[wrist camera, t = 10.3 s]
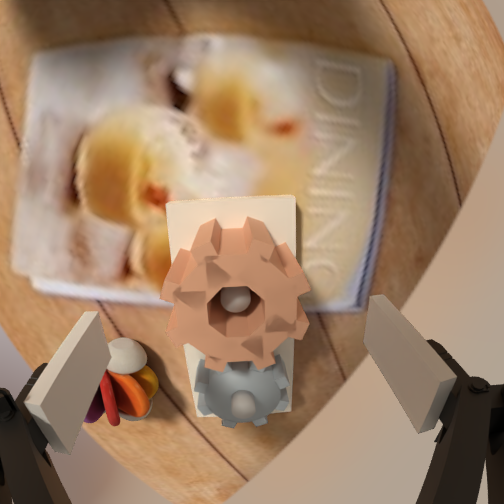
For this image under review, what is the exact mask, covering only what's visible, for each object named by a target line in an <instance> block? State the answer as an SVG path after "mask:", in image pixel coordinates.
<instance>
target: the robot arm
mask: <svg viewBox="0 0 504 504" xmlns="http://www.w3.org/2000/svg"><path fill="white" fill-rule="evenodd" d="M363 343H364V345H365V347H366V348H367V350H368V351H369V353H370V355H371V356H372V358H373V359H374V361H375V363H376V364H377V366H378V367H379V369H380V371H381V372H382V374H383V376H384V377H385V379H386V381H387V382H388V384H389V385H390V387H391V389H392V390H393V392H394V394H395V395H396V397H397V399H398V400H399V402H400V404H401V406H402V407H403V409H404V411H405V412H406V414H407V416H408V417H409V419H410V421H411V423H412V424H413V426H414V428H415V429H416V431H417V433H418V434H419V433H422V432H425V431H428V430H431V429H434V427H435V425H436V423H437V421H438V419H440V420H441V422H442V423H443V426H442V428H441V430H440V432H439V434H438V436H437V438H436V440H435V441H434V442H437V444H436V448H435V451H434V454H433V457H432V460H431V464H430V466H429V469H428V472H427V475H426V478H425V481H424V484H423V486H422V489H421V492H420V494H419V497H418V499H417V502H416V504H476V502H477V498H478V493H479V489H480V484H481V479H482V474H483V469H484V463H485V460H486V470H487V484H488V504H504V384H502V385H490V384H489V383H488V382H487V381H486V380H484V379H482V378H480V377H473V376H472V377H469V375H468V374H467V373H466V372H465V371H464V370H463V368H462V367H461V366H460V365H459V364H458V363H457V362H456V361H455V359H452V356H451V355H450V354H449V353H447V351H446V350H445V348H444V347H443V346H442V345H441V344H439V343H437V342H435V341H434V340H432V339H431V340H425V339H424V338H423V337H422V336H421V334H420V333H419V332H418V331H417V330H416V329H415V328H414V327H413V326H412V325H411V323H410V322H409V321H408V320H407V319H406V318H405V317H404V316H403V315H402V314H401V312H400V311H399V310H398V309H397V308H396V307H395V306H394V305H393V304H392V303H391V302H390V301H389V300H388V299H387V297H386V296H385V295H384V294H382V295H373V296H370V299H369V306H368V313H367V320H366V327H365V333H364V339H363ZM111 358H112V357H111V354H110V351H109V347H108V344H107V341H106V337H105V334H104V330H103V327H102V323H101V320H100V316H99V312H84V314H83V315H82V316H81V318H80V319H79V320H78V322H77V323H76V325H75V326H74V327H73V329H72V330H71V331H70V333H69V334H68V336H67V337H66V338H65V340H64V341H63V343H62V344H61V346H60V347H59V349H58V350H57V351H56V353H55V354H54V356H53V357H52V359H51V360H50V362H49V363H43V364H42V365H41V366H39V367H38V368H37V369H36V370H35V371H34V373H33V374H32V376H31V379H29V380H28V382H27V385H25V386H24V388H23V389H22V391H21V392H20V394H19V395H18V397H17V399H16V400H15V401H14V399H13V397H12V395H11V394H10V392H9V391H8V390H7V389H5V388H0V504H12V499H13V502H14V504H72V503H71V501H70V499H69V497H68V495H67V493H66V491H65V489H64V487H63V485H62V483H61V481H60V479H59V477H58V474H57V472H56V470H55V468H54V466H53V463H52V461H51V459H50V456H49V454H48V452H47V451H46V450H45V448H46V446H47V444H48V443H49V444H50V445H51V447H52V449H53V450H54V451H55V452H60V453H64V454H68V455H70V454H71V452H72V449H73V446H74V444H75V441H76V438H77V436H78V433H79V431H80V429H81V426H82V424H83V421H84V419H85V417H86V414H87V412H88V409H89V407H90V405H91V402H92V400H93V398H94V395H95V393H96V391H97V388H98V386H99V384H100V382H101V379H102V377H103V375H104V373H105V371H106V368H107V366H108V364H109V362H110V360H111Z"/></svg>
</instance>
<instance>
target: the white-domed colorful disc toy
mask: <svg viewBox="0 0 504 504" xmlns="http://www.w3.org/2000/svg"><path fill="white" fill-rule="evenodd" d="M108 347H109V351H110V354H111V357H112V358H111V360H110V362H109V364H108V366H107V368H106V371H105V373H104V375H103V377H102V379H101V382H100V384H99V386H98V388H97V391H96V393H95V395H94V398H93V400H92V402H91V405H90V407H89V409H88V412H87V414H86V417H85V419H84V422H86V423H93V422H96V421H97V420H98V419H99V418H100V417H101V416H102V414H103V413H105V412H106V414H107V418H108V420H109V423H110V424H111V425H113V426H118V425H119V424H120V417H122V418H123V419H126V420H129V421H138V420H141V419H144V418H145V417H146V416H147V415H148V414H149V413H150V411H151V409H152V405H153V401H152V397H153V396H154V395H155V393H156V392H157V390H158V385H159V384H158V379H157V376H156V375H155V373H154V372H153V371H152V369H151V368H149V367H148V366H146V363H147V355H146V353H145V351H144V349H143V347H142V346H141V345H140V344H139V343H138V342H136V341H135V340H132V339H130V338H117V339H114V340H112V341H111V342H109V343H108ZM119 416H120V417H119Z"/></svg>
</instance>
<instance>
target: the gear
mask: <svg viewBox="0 0 504 504" xmlns="http://www.w3.org/2000/svg"><path fill="white" fill-rule="evenodd" d="M238 286H248V287H249V288H250V289H249V290H250V297H251V301H250V304H249V306H248V307H247V308H246V309H245V310H244V311H241V312H237V313H234V312H230V311H228V310H226V309H225V308H224V307H223V306H222V304H221V288H222V287H238ZM310 290H311V288H310V286H309V284H308V281H307V279H306V277H305V274H304V272H303V270H302V269H301V267H300V265H299V264H298V262H297V260H296V259H295V257H294V255H293V254H292V252H291V250H290V249H289V247H288V245H287V244H286V242H284V243H282V244H280V245H278V246H276V247H275V245H274V243H273V241H272V239H271V237H270V235H269V233H268V231H267V229H266V226H265V224H264V222H262V221H259V220H257V219H254V218H251V217H248V216H247V218H246V220H245V223H244V226H243V228H228V229H221V228H220V226H219V224H218V222H217V220H216V218H214V219H212V220H210V221H208V222H206V223H204V224H202V225H200V227H199V229H198V232H197V234H196V237H195V239H194V242H193V244H192V247H191V249H190V251H188V250H185V249H182V248H180V250H179V252H178V254H177V256H176V258H175V260H174V262H173V264H172V266H171V268H170V270H169V272H168V274H167V276H166V278H165V281H164V284H163V288H162V292H161V295H160V299H162V300H165V301H168V302H171V303H174V308H173V311H172V314H171V317H170V320H169V323H168V326H167V329H166V334H167V335H168V337H169V338H170V340H171V341H172V343H173V344H174V346H175V347H176V348H177V347H179V346H182V345H184V344H187V343H189V344H190V345H192V346H193V347H195V348H196V349H198V350H199V351H200V352H202V353H203V354H205V366H204V367H205V368H208V369H212V370H216V371H219V372H223V371H224V369H225V366H226V364H227V362H239V361H253V363H254V364H255V366H256V368H257V369H258V370H260V369H263V368H265V367H268V366H270V365H273V364H275V363H276V362H275V357H274V352H273V351H274V350H275V349H276V348H277V347H278V346H279V345H280V344H281V343H282V342H283V341H285V340H286V339H287V338H288V337H290V338H294V339H298V340H302V338H303V336H304V334H305V332H306V331H307V329H308V327H309V324H310V323H309V321H308V319H307V317H306V314H305V312H304V310H303V308H302V306H301V303H300V301H299V299H298V297H297V296H299V295H302V294H304V293H306V292H308V291H310Z"/></svg>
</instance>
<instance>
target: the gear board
mask: <svg viewBox="0 0 504 504" xmlns="http://www.w3.org/2000/svg"><path fill="white" fill-rule="evenodd" d="M166 213H167V224H168V234H169V243H170V252H171V261H172V264H173V262H174V260H175V258H176V256H177V254H178V252H179V250H180V248H182V249H185V250H188V251H190V249H191V247H192V244H193V242H194V239H195V237H196V234H197V232H198V229H199V227H200V225H202V224H204V223H206V222H208V221H210V220H212V219H214V218H216V220H217V222H218V224H219V226H220V228H221V229H228V228H243V226H244V223H245V220H246V218H247V216H248V217H251V218H254V219H257V220H259V221H262V222H264V224H265V226H266V229H267V231H268V233H269V235H270V237H271V239H272V241H273V243H274V245H275V247H276V246H278V245H280V244H282V243H284V242H286V244H287V245H288V247H289V249H290V250H291V252H292V254H293V255H294V257H295V259H296V197H294V196H293V195H269V196H246V197H226V198H209V199H194V200H180V201H169V202H168V203H167V204H166ZM249 289H250V288H249V287H248V286H238V287H222V288H221V304H222V306H223V307H224V308H225V309H226V310H228V311H230V312H234V313H237V312H241V311H244V310H245V309H246V308H247V307H248V306H249V304H250V301H251V297H250V290H249ZM184 350H185V356H186V362H187V367H188V373H189V378H190V383H191V388H192V393H193V398H194V403H195V408H196V413H197V417H220V418H222V426H225V427H230V428H234V427H235V426H236V424H237V422H251V421H252V422H253V423H254V425H255V426H256V427H257V426H260V425H263V424H266V423H268V420H267V415H269V414H270V413H281V412H290V411H291V405H292V386H293V362H294V338H290V337H288V338H287V339H286V340H285V341H283V342H282V343H281V344H280V345H279V346H278V347H277V348H276V349H275V350H274V351H273V352H274V357H275V362H276V363H275V364H273V365H270V366H268V367H265V368H263V369H260V370H258V369H257V368H256V366H255V364H254V363H253V361H239V362H227V364H226V366H225V369H224V371H223V372H219V371H216V370H212V369H208V368H205V367H204V366H205V354H203V353H202V352H200V351H199V350H198V349H196V348H195V347H193V346H192V345H190V344H189V343H187V344H184Z"/></svg>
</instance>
